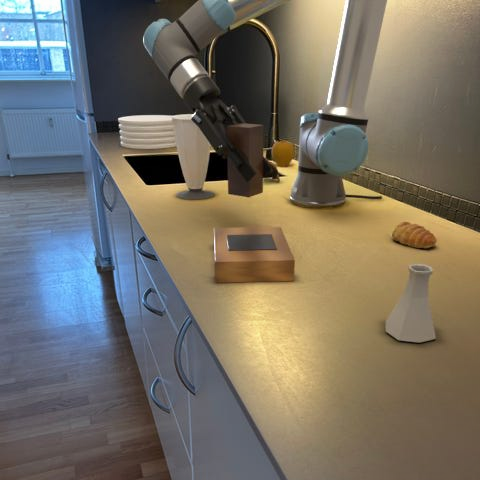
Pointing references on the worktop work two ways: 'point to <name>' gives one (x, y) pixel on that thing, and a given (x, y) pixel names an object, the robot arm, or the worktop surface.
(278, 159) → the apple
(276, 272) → the wooden slab
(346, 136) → the robot arm
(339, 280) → the worktop surface
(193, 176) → the cup
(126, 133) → the plate stack
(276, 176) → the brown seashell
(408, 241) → the pastry
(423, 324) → the flask
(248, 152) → the box
